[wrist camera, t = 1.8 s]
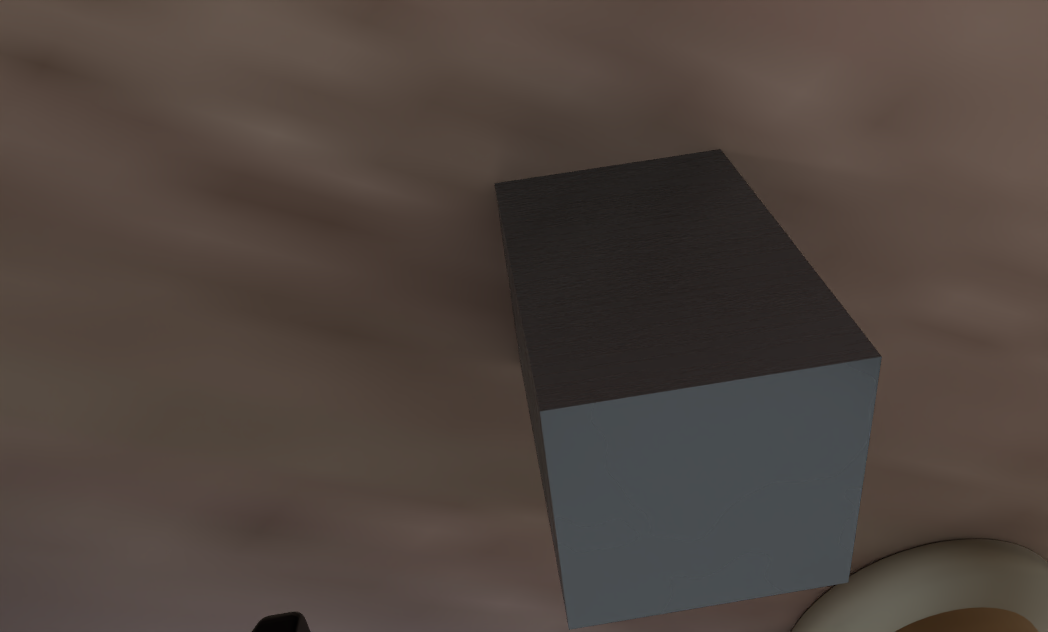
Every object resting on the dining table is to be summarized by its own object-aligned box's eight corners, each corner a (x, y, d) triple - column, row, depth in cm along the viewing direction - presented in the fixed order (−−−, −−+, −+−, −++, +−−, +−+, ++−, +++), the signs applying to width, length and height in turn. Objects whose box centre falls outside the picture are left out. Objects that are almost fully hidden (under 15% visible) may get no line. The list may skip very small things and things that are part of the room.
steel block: (521, 365, 16) (568, 630, 11) (494, 182, 14) (540, 411, 9) (717, 334, 16) (848, 582, 11) (720, 148, 14) (880, 356, 9)
